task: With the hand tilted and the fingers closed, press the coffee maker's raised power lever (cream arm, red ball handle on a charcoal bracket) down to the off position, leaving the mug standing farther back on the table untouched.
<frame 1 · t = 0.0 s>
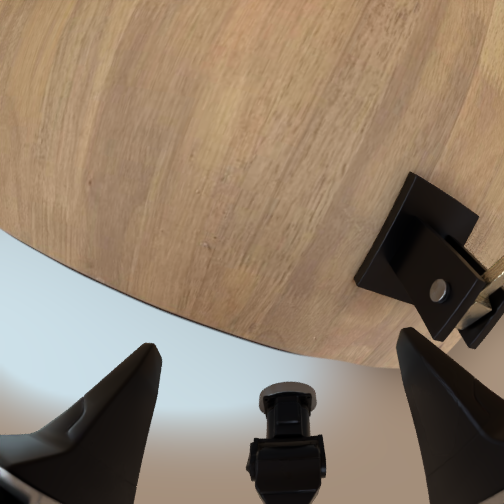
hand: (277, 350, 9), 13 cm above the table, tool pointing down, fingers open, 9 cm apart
switch bracket: (417, 244, 21), on the table
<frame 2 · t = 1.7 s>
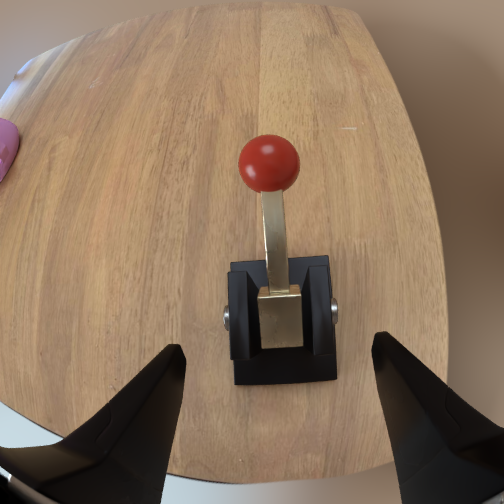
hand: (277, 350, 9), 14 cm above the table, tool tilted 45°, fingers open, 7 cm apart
power lever: (275, 239, 15), point 10 cm above the table, hinge at 22.0°
switch bracket: (283, 321, 23), on the table
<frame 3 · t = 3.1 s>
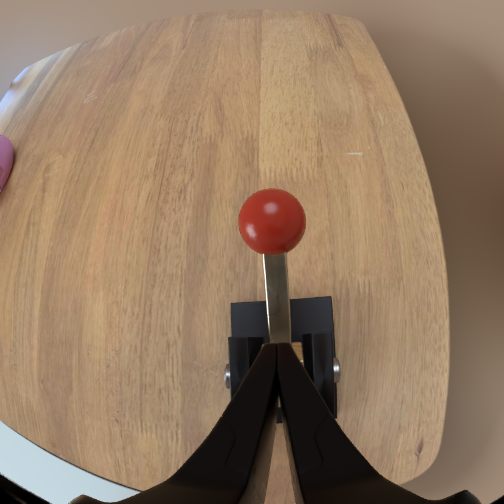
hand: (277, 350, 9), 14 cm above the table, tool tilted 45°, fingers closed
power lever: (278, 302, 14), point 10 cm above the table, hinge at 22.0°
switch bracket: (284, 362, 22), on the table
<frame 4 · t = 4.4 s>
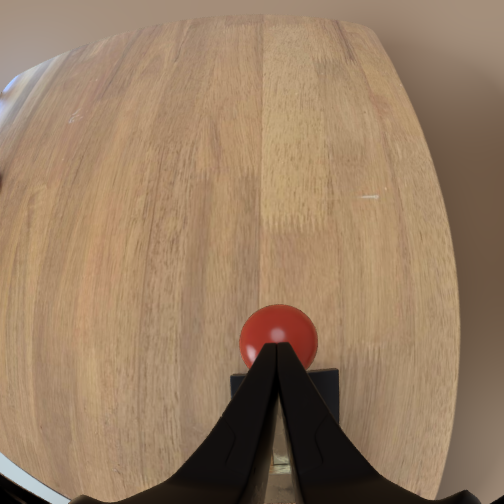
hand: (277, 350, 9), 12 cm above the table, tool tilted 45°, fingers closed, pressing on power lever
power lever: (282, 419, 11), point 9 cm above the table, hinge at 18.7°, touching gripper
switch bracket: (286, 430, 19), on the table
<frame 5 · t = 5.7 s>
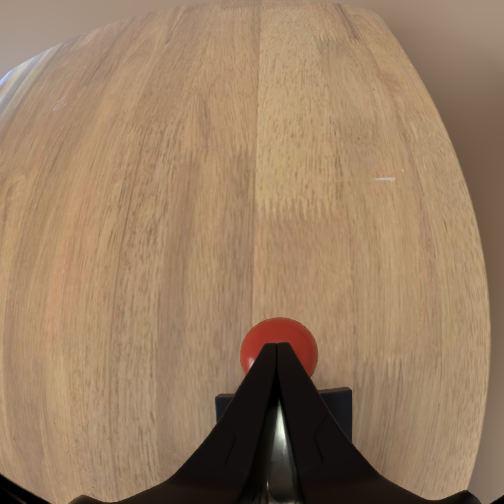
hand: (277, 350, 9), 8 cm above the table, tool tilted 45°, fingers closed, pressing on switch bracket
power lever: (281, 446, 9), point 7 cm above the table, hinge at -15.9°
switch bracket: (285, 462, 14), on the table
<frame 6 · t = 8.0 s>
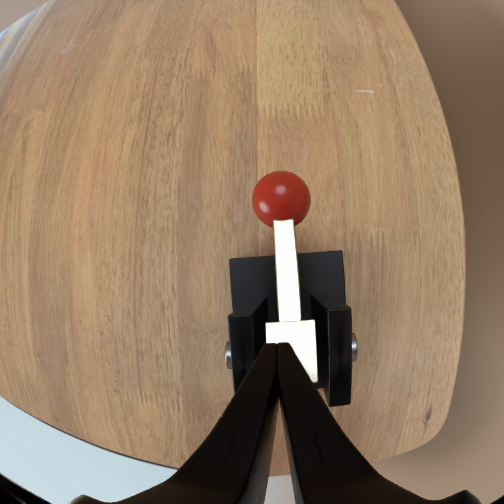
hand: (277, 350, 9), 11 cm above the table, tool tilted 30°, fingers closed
power lever: (286, 268, 14), point 7 cm above the table, hinge at -15.9°
switch bracket: (290, 323, 21), on the table
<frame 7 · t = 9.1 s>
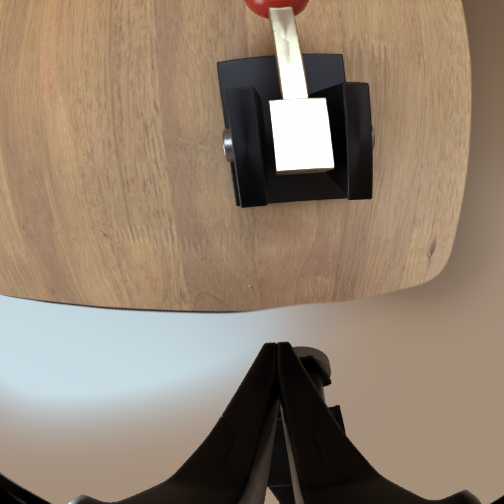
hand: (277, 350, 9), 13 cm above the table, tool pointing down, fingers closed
power lever: (287, 52, 10), point 7 cm above the table, hinge at -15.9°
switch bracket: (287, 127, 18), on the table
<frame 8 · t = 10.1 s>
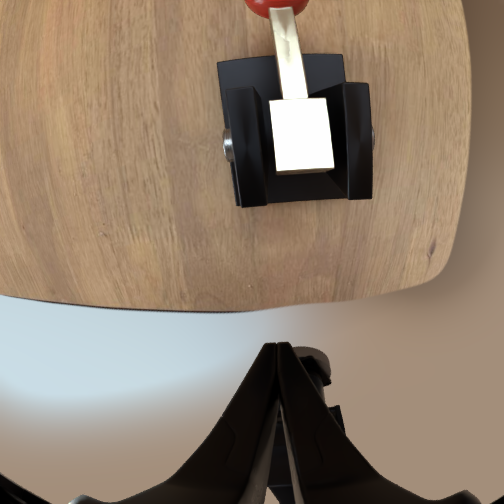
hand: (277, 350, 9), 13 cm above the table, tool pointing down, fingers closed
power lever: (287, 52, 10), point 7 cm above the table, hinge at -15.9°
switch bracket: (287, 127, 18), on the table
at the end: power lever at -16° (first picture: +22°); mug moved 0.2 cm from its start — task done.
